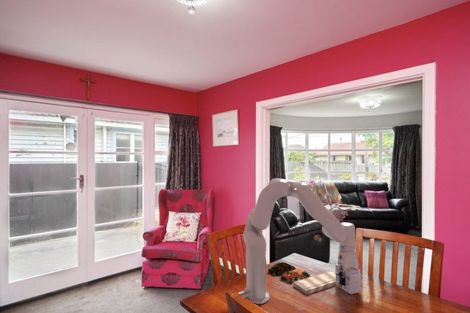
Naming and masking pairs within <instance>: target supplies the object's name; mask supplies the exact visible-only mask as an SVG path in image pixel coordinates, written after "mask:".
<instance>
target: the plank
mask: <svg viewBox="0 0 470 313" xmlns="http://www.w3.org/2000/svg"><path fill="white" fill-rule="evenodd" d="M292 284H293V287H295V288H296V289H297V290H299V291H300V292H301V293H304V295H310V294H313V293H316V292H319V291H323V290H325V289H329V288H331V287H332V288H333V287H335V286H337V285H336V271H335V272H334V271H333V270H331V271H327V272H324V273H320V274H316V275H313V276H310V277H307V278H304V279H300V280H299V279H298V280H297V281H295V282H293V283H292Z"/></svg>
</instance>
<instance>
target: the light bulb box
mask: <svg viewBox="0 0 470 313" xmlns="http://www.w3.org/2000/svg"><path fill="white" fill-rule="evenodd" d="M337 267H338V263H336V264H335V269H336V268H337ZM335 273H336V285H335V286H337V287H339V288H340V289H342V290H343V291H345V292H346V293H348V294H349V295H353V294H357V293H361V292H362V285H361V283H362V280H361V279H362V278H361V274H362V273H361V269H359V268H358V269H357V268H354V269H351V270H348V271H347V273H345V286H343V285H341V284H340V283H339V276H338V274H337V272H336V271H335ZM342 274H343V272H342Z"/></svg>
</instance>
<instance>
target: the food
mask: <svg viewBox="0 0 470 313" xmlns="http://www.w3.org/2000/svg"><path fill="white" fill-rule="evenodd" d="M293 268H294V269H293ZM267 273H268V274H270V276H274V277H275V276H276V277H277V276H278V278H279V279H281V280H283V281H286V282H287V283H289V284H293V282H296V281H299V279H300V280H303V279H306V278H309V276H310V275H311V274H309V273H308V272H307V271H305V270H303V269H301V268H296V267H295V266H294V265H291V264H290V263H287V262H283V261H281V262H277V263H274V264H273V265H272V266H271V267H270V268H268V269H267Z"/></svg>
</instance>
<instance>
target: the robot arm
mask: <svg viewBox="0 0 470 313" xmlns="http://www.w3.org/2000/svg"><path fill="white" fill-rule="evenodd" d="M285 196H287V197H293V198H296V199H297V201H298V202H299V203H300V204H301V205H302V206H303V208H304V209H305V211H306V212H307V213H308V215H310V216H311V217H312V218H313V219H314V220H315V221H317V222H318V223H319V224H320V225H322V227H321V231H322V233H323V234H324V235H325V236H326V237H328V239H331V240H332V241H334V242H336V243H338V249H339V250H338V254H337V264H338V267H337V268H335V273H336V272H337V274H338V276H339V283H340V284H341V285H343V286H345V273H347V271H348V270H351V269H354V268H357V269H359V267H360V264H359V259H358V252H357V250H356V229H355V228H356V227H355V224H354V223H351V222H345V221H344V222H340V221H339V219H338V218H337V217H336V215H334V213H332V212H331V211H330V210H329V209H328V207H326V206H325V205H324V203H323V202H322V201H321V200H320V199H319V197H318V196H317V194H315V192H314V190H313V189H312V188H311V187H310V186H309V184H307V183H306V182H303V181H296V180H288V179H284V178H279V177H278V178H277V177H276V178H271V180H269V182H268V185H266V186H265V187H264V188H263V189H262V190H261V191H260V193H259V195H258V197H257V200H256V203H255V207H254V208H252V209H251V210H250V211H249V212H248V215H247V218H246V222H245V226H244V230H243V234H242V237H243V241H244V243H245V246H246V248H245V249H246V250H245V253H246V254H245V265H246V266H245V267H246V268H245V269H246V272H245V273H246V274H245V275H246V278H245V280H246V281H245V282H246V287H244V289H243V290H242V291H239V292H237V293H238V294H240V295H241V297H242V296H243V297H245V298H246V299H248V300H250V301H252V302H253V303H255V304H254V305H261V304H265V303H267V302H268V301H269V300H270V298H271V297H270V292H268V291H267V271H266V269H267V266H266V265H267V264H266V260H267V258H266V257H267V256H266V255H267V240H266V237H265V235H263V234H262V233H263V231H264V230H267V229H268V227H269V226H270V222H271V218H272V214H273V210H274V208H275V204H276V202H277V201H278V200H279V199H280V198H282V197H285ZM342 272H343V274H342ZM243 297H242V298H243Z"/></svg>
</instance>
